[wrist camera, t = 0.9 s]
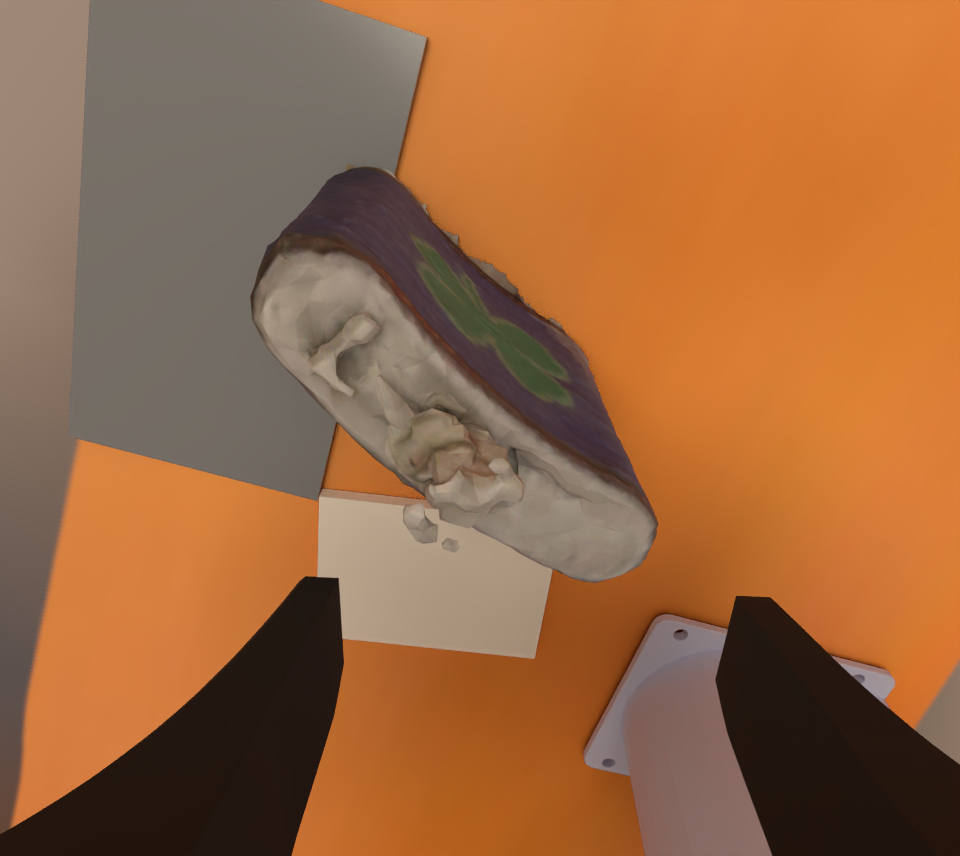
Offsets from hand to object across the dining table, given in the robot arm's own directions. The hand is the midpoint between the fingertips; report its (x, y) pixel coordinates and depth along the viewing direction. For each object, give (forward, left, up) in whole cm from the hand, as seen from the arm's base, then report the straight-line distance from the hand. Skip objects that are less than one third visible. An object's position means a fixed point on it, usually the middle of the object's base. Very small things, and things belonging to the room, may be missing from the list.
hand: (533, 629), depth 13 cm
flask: (+3, -3, -10) cm, 11 cm away
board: (+9, -2, -10) cm, 14 cm away
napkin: (+1, +7, -10) cm, 13 cm away
